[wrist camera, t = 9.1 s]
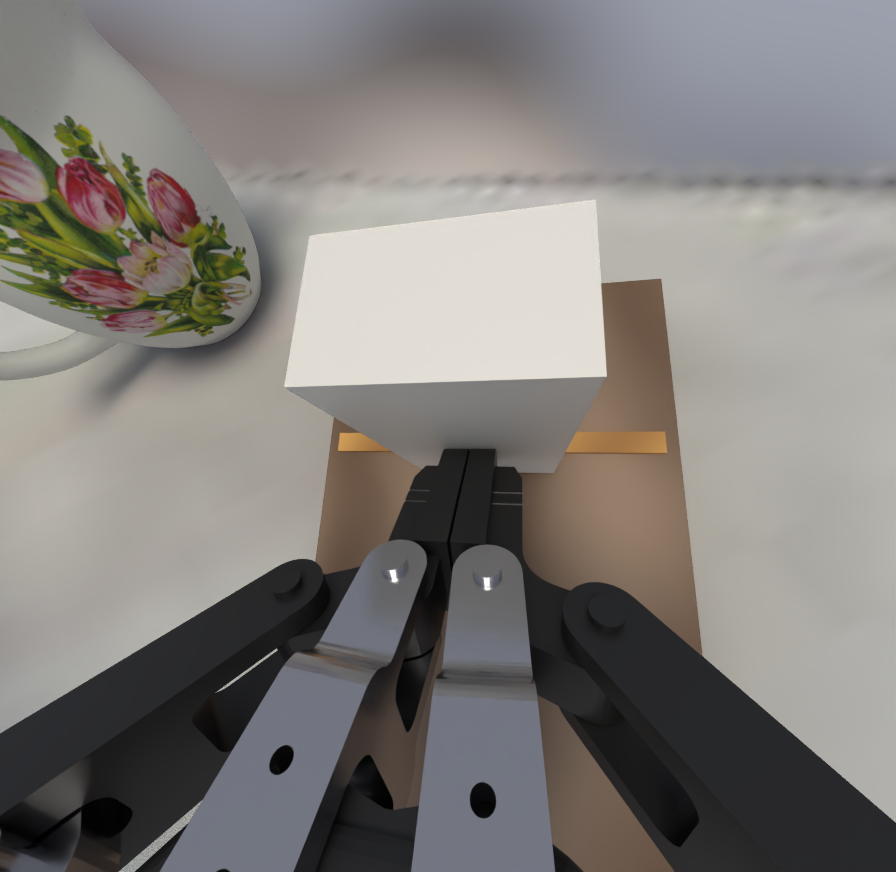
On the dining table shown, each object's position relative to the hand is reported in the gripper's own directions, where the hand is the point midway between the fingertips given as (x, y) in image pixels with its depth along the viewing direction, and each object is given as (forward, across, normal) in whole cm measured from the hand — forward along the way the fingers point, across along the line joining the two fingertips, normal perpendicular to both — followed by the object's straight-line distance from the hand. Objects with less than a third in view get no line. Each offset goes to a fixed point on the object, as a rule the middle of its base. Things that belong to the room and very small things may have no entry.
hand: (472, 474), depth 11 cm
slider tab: (+4, 0, +1) cm, 4 cm away
